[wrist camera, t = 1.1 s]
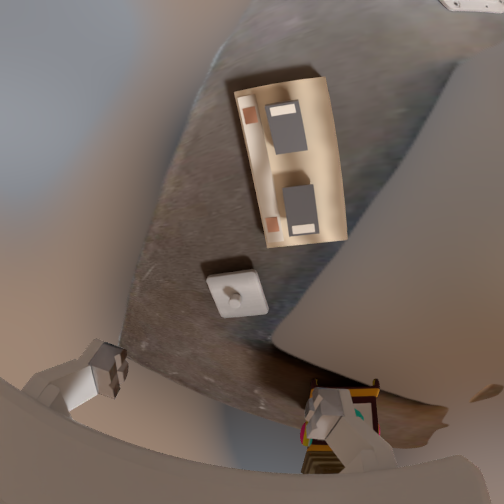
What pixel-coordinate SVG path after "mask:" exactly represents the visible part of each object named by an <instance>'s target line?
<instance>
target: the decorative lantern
mask: <svg viewBox="0 0 504 504" xmlns="http://www.w3.org/2000/svg"><path fill="white" fill-rule="evenodd" d="M316 387H320V388H334V389H348V390H349V391H350V395H351V398H352V402H353V406H354V410H355V413H356V417H360V418H361V419H362V420H363V421H364V422H365V423H366V424H368V425H369V426H370V427H371V428H372V429H373V430H374V431H375V432H376V433H377V434H378V435H379V436H380V427H379V424H378V417H377V407H376V398H377V396H378V393H379V389H380V386H379V381H378V379H374V380H373V386H369V387H321V386H318V385H317V380H316V379H313V380H312V382H311V389H310V396H309V399H310V398H312V392H313V390H314V388H316ZM306 421H307V420H306ZM307 424H308V421H307V422H305V423H304V424H303V426H302V428H301V433H300V439H301V443H302V444H303V445H304V446H308V448H307V452H306V455H305V459H304V463H303V466H302V470H301V473H303V474H339V473H340V472H341V471H342V470H343V469H344V468H345V466H344V465H343V464H342V462H341V461H340V460H339V458H338V457H337V456H336V454H335V453H334V452H333V450H332V449H331V448H330V446H329V445H328V444H327V442H326V441H325V440H326V439H309V438H307V433H306V425H307Z"/></svg>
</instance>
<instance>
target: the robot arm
mask: <svg viewBox="0 0 504 504" xmlns="http://www.w3.org/2000/svg"><path fill="white" fill-rule="evenodd" d="M439 1H440V2H441V3H442V4H443V5H444V6H445V7H446V8H447V9H448V10H450V11H474V12H489V13H499V14H500V13H503V12H504V0H439ZM454 3H455V4H456V5H455V4H454ZM126 357H127V350H126V349H124V348H121V347H119V346H116V345H113V344H110V343H108V342H104V341H101V340H99V339H94V340H93V341H92V342H91V343H90V345H89V346H88V347H87V348H86V350H85V351H84V352H83V354H82V355H81V356H80V357H79V359H78V360H76V359H74V360H71V361H68V362H66V363H63V364H61V365H58V366H55V367H52V368H49V369H47V370H44V371H41V372H38V373H36V374H34V375H33V376H32V378H31V379H30V380H29V381H28V382H27V384H26V385H25V386H24V387H23V389H22V390H21V391H20V390H19V389H17V388H16V387H14V386H13V385H11V384H10V383H8V382H7V381H5V380H4V379H2V378H1V377H0V504H491V500H490V496H489V492H488V490H487V486H486V483H485V479H484V477H483V474H482V472H481V470H480V469H479V468H478V467H477V466H476V465H474V464H473V463H472V462H471V461H469V460H468V459H467V458H465V457H463V456H462V455H453V456H449V457H446V458H442V459H438V460H434V461H429V462H425V463H420V464H415V465H410V466H404V467H399V468H398V467H397V463H396V460H395V456H394V453H393V449H392V447H391V446H390V445H389V444H388V443H387V442H386V441H385V440H384V439H383V438H382V437H380V436H379V435H378V434H377V433H376V432H375V431H374V430H373V429H372V428H371V427H370V426H369V425H368V424H366V423H365V422H364V421H363V420H362V419H361V418H360V417H356V413H355V410H354V406H353V402H352V398H351V395H350V391H349V390H348V389H334V388H320V387H316V388H314V390H313V392H312V398H310V399H308V402H307V404H306V408H305V419H306V420H307V421H308V424H307V425H306V433H307V438H309V439H326V440H325V441H326V442H327V444H328V445H329V446H330V448H331V449H332V450H333V452H334V453H335V454H336V456H337V457H338V458H339V460H340V461H341V462H342V464H343V465H344V466H345V468H344V469H343V470H342V471H341V472H340V473H339V474H287V473H271V472H260V471H250V470H242V469H235V468H228V467H222V466H216V465H211V464H205V463H201V462H196V461H191V460H187V459H182V458H178V457H174V456H171V455H167V454H163V453H160V452H156V451H153V450H150V449H146V448H143V447H140V446H137V445H134V444H131V443H128V442H125V441H122V440H120V439H117V438H114V437H112V436H109V435H107V434H104V433H102V432H99V431H97V430H95V429H92V428H90V427H88V426H85V425H83V424H81V423H79V422H77V421H75V420H73V419H72V417H71V415H70V413H69V411H70V410H72V409H74V408H75V407H77V406H79V405H81V404H82V403H84V402H86V401H87V400H89V399H91V398H92V397H94V396H96V395H97V394H101V395H104V396H107V397H110V398H112V399H115V398H116V396H117V394H118V392H119V390H120V384H121V383H123V382H124V381H125V379H126V377H127V373H128V362H127V361H126V359H125V358H126Z"/></svg>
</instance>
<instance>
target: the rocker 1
mask: <svg viewBox="0 0 504 504" xmlns="http://www.w3.org/2000/svg"><path fill="white" fill-rule="evenodd" d="M264 107H265V111H266V115H267V119H268V123H269V127H270V132H271V136H272V140H273V144H274V149H275V153H276V155H278V154H285V153H292V152H299V151H307V150H308V147H307V141H306V136H305V130H304V125H303V120H302V115H301V110H300V105H299V100H298V99H295V100H288V101H282V102H276V103H270V104H266V105H265V106H264Z"/></svg>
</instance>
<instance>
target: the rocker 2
mask: <svg viewBox="0 0 504 504" xmlns="http://www.w3.org/2000/svg"><path fill="white" fill-rule="evenodd" d="M282 191H283V197H284V204H285V211H286V218H287V225H288V232H289V237H291V236H300V235H310V234H320V232H319V223H318V215H317V207H316V199H315V192H314V185H313V184H308V185H299V186H292V187H284V188H282Z"/></svg>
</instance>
